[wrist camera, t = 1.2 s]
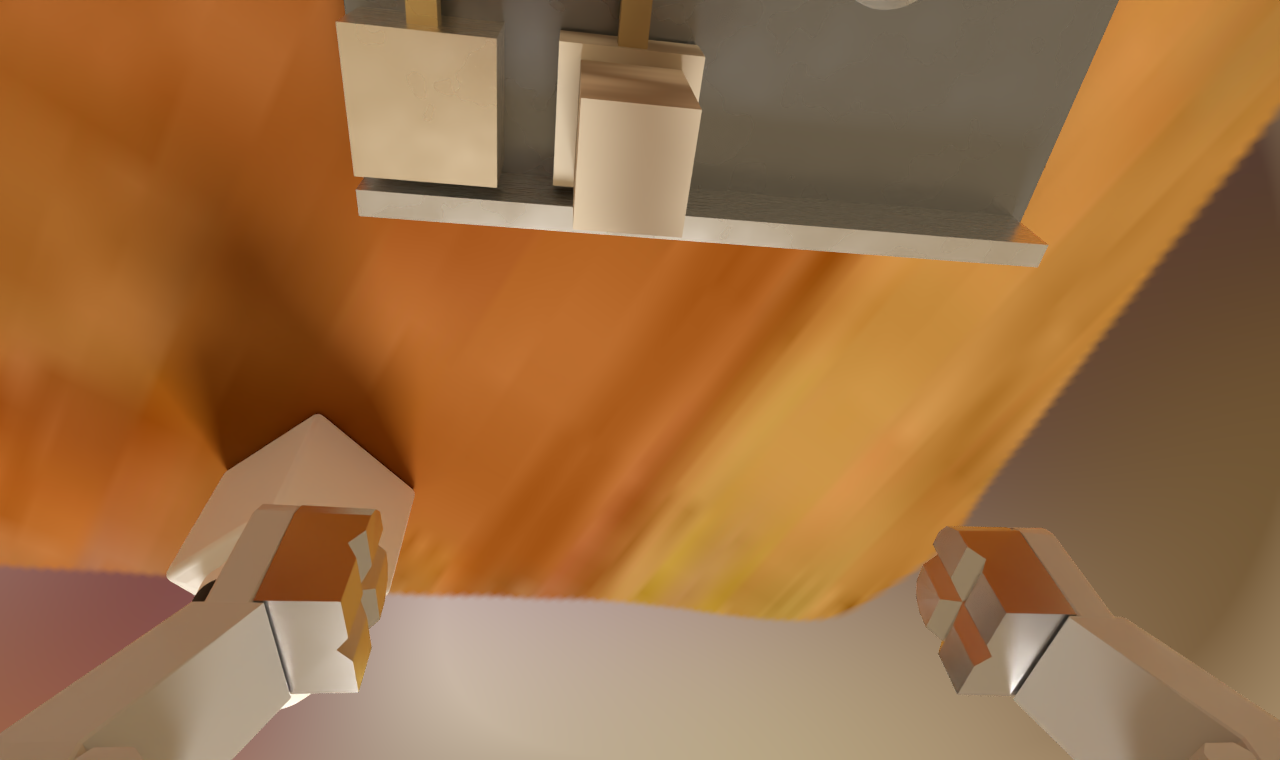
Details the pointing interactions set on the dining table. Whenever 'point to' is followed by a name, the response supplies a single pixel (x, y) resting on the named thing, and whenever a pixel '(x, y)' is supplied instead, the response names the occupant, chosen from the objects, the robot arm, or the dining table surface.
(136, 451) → the dining table surface
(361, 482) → the medicine bottle
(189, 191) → the dining table surface
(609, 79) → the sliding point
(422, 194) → the divider plate
